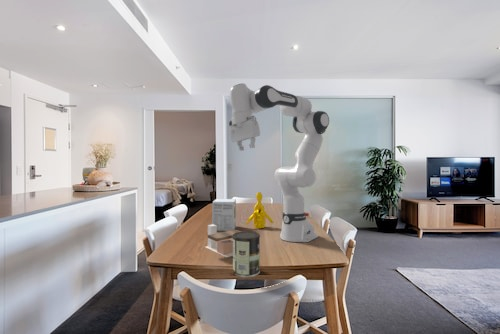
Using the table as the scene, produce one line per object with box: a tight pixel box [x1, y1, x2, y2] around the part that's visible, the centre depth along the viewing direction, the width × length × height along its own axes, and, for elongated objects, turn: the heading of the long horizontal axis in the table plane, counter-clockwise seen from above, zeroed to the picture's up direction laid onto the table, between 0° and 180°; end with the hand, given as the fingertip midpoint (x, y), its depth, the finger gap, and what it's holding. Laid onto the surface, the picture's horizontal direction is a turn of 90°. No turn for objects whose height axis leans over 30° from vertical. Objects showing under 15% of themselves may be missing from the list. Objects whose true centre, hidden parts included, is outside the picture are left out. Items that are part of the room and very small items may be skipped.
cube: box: [217, 239, 233, 256], centre depth 120 cm, size 5×5×5 cm
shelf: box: [207, 229, 243, 241], centre depth 120 cm, size 15×7×10 cm, turn 130°
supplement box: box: [211, 198, 237, 232], centre depth 169 cm, size 13×13×18 cm
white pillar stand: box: [204, 223, 233, 258], centre depth 122 cm, size 6×18×11 cm, turn 40°
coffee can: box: [232, 231, 261, 278], centre depth 102 cm, size 10×10×14 cm
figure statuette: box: [245, 191, 275, 229], centre depth 172 cm, size 18×8×22 cm, turn 96°
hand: (246, 149), depth 125 cm, fingers open, 8 cm apart
